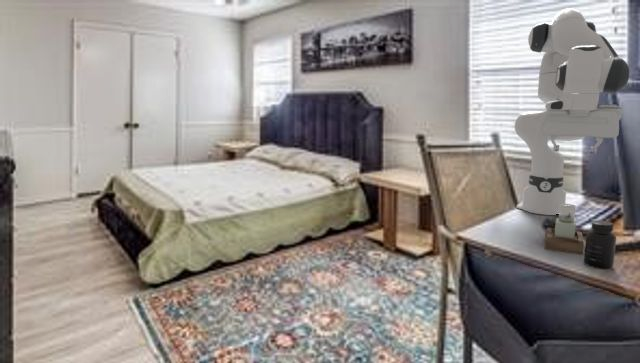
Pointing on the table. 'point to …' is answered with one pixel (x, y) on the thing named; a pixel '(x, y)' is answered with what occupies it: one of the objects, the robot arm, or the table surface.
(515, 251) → the table surface
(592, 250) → the supplement bottle
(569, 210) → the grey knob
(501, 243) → the table surface
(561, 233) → the sage cube
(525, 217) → the table surface
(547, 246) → the walnut base
